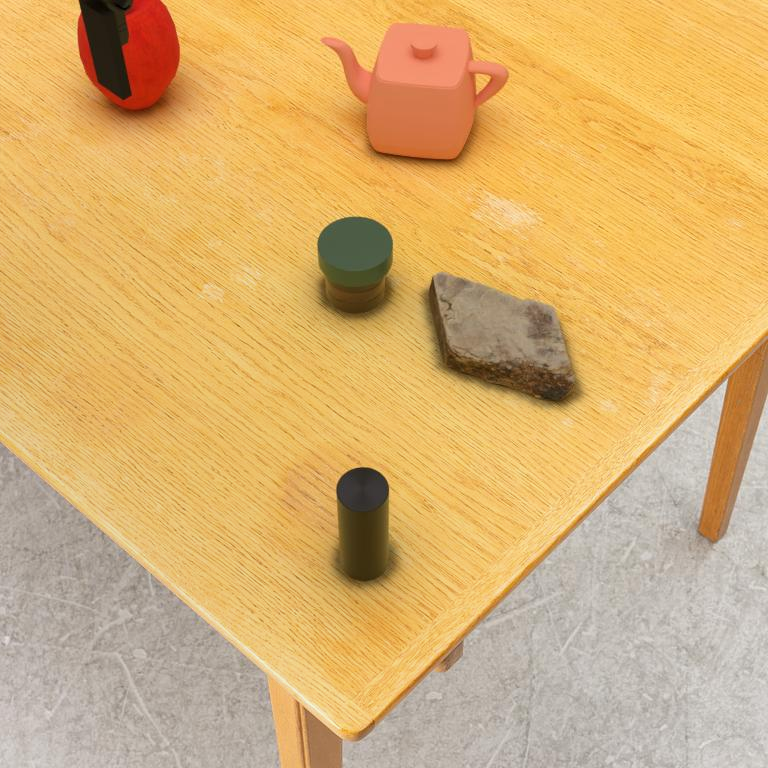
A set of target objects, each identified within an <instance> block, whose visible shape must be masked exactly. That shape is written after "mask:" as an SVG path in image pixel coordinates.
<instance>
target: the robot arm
mask: <svg viewBox="0 0 768 768" xmlns="http://www.w3.org/2000/svg"><path fill="white" fill-rule="evenodd" d="M78 3H79V4H78V5H79V9H80V13H82V17H83V22H84V26H85V30H86V34H87V39H88V43H89V47H90V51H91V55H92V60H93V64H94V68H95V72H96V76H97V81H98V83H99V84H100V85H102V86H103V87H105V88H106V89H107V90H109V91H110V92H112V93H113V94H115V95H116V96H117V97H119V98H120V99H122V100H123V101H124V100H125V99H127V98H129V97H130V96H132V92H131V88H130V83H129V78H128V73H127V69H126V64H125V59H124V54H123V50H122V46H123V45H125V44H127V43H128V41H129V31H128V26H127V22H126V16H125V12H127V11H128V10H130V8H131V7H132V5H133V0H78Z"/></svg>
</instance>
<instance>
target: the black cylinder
mask: <svg viewBox="0 0 768 768" xmlns="http://www.w3.org/2000/svg"><path fill="white" fill-rule="evenodd" d="M335 491H336V493H335V494H336V509H337V511H336V512H337V526H338V527H337V528H338V544H339V563H340V566H341V567H340V568H341V569H342V571H343V573H344V574H345V575H346V576H348V577H349V578H351V579H352V580H355V581H360V582H370V581H373V580H376V579H377V578H379V577H381V576H382V575H383V574H384V573H385V571H386V570H387V568H388V565H389V556H390V555H389V554H390V553H389V549H390V547H389V545H390V544H389V542H390V484H389V482H388V480H387V478H386V477H385V476H384V475H383V473H381V472H380V471H379V470H377V469H375V468H371V467H367V466H359V467H355V468H354V467H353V468H351V469H349V470H347V471H346V472H345V473H343V474H342V475H341V476H340V478H339V479H338V481H337V483H336V487H335Z"/></svg>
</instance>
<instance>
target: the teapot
mask: <svg viewBox="0 0 768 768" xmlns="http://www.w3.org/2000/svg"><path fill="white" fill-rule="evenodd" d="M470 39H471V38H470V35H469V32H468V31H467V30H466V29H464V28H459V27H452V26H445V25H436V24H427V23H414V22H413V23H412V22H394V23H392V24H391V25H390V26H389V27H388V28H387V30H386V32H385V34H384V36H383V39H382V41H381V44H380V47H379V50H378V53H377V56H376V59H375V62H374V65H373V69H372V72H371V71H370V70H367V69H366V68H364V67H362V66H361V64H360V63H359V61H358V59H357V57H356V54H355V52H354V51H353V48H352V47H351V46H350V45H349V44H348V43H347V42H345V41H344V40H342V39H339V38H337V37H332V36H324V37H321V38H320V42H321V44H324V45H325V46H327V47H328V48H330V49H331V50H332V51H333V52H335V53H336V55H337V56H338V58H339V60H340V62H341V65H342V69H343V72H344V77H345V80H346V83H347V86H348V88H349V91H350V92H351V93H352V95H353V96H354V97H355V98H356V99H357V100H359V101H360V102H361V103H363V104H365V105H366V131H367V137H368V140H369V143H370V145H371V146H372V148H373V149H374V151H376V152H379V153H384V154H388V155H396V156H402V157H413V158H422V159H435V160H454V159H456V158H457V157H458V156H459V155H460V153H461V152H462V150H463V148H464V146H465V144H466V142H467V140H468V138H469V135H470V132H471V130H472V127H473V124H474V120H475V116H476V109H477V108H479V107H480V106H482V105H483V104H485V103H486V102H488V101H489V100H490V99H492V98H493V97H494V96H496V95H497V94H498V93H499V92H500V91H501V90H502V89H503V88H504V87H505V85H506V84H507V82H508V80H509V77H510V73H509V69H508V68H507V67H506V66H504V65H503V64H500V63H498V62H494V61H493V62H492V61H486V60H475V59H474V54H473V49H472V43H471V40H470ZM477 74H478V75H485V76H488V77H490V79H489V80H488V82H487V84H486V85H485V86H484V87H483V88H482V89H481V90H480V91H479V92H478V93H477V78H476V77H477V76H476V75H477Z"/></svg>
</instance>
